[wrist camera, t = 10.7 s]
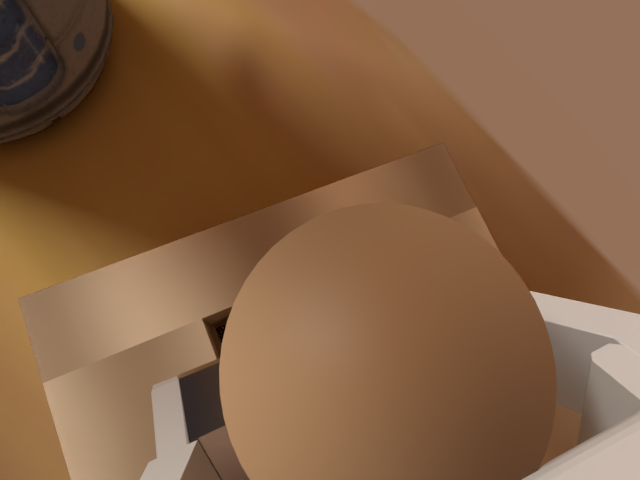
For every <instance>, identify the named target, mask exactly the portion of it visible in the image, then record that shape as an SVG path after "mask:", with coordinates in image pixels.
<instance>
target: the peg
mask: <svg viewBox="0 0 640 480" xmlns="http://www.w3.org/2000/svg"><path fill="white" fill-rule="evenodd" d="M219 383H220V398H221V404H222V410H223V417H224V421H225V424H226V428H227V431H228V434H229V438H230V441H231V444H232V446H233V448H234V451H235V453H236V455H237V457H238V460H239V462H240V464H241V466H242V468H243V469H244V471H245V473H246V474H247V476H248V477H249V479H250V480H522V479H523V478H525V477H527V476H529V475H531V474H532V473H534V472H536V471H538V469H539V467H540V465H541V462H542V460H543V458H544V456H545V453H546V450H547V447H548V443H549V440H550V436H551V433H552V429H553V423H554V416H555V410H556V391H557V382H556V370H555V361H554V356H553V351H552V346H551V341H550V338H549V334H548V331H547V328H546V325H545V322H544V319H543V317H542V315H541V313H540V310H539V308H538V306H537V304H536V301H535V299H534V298H533V296H532V294H531V293H530V291H529V289H528V288H527V286H526V284H525V283H524V281H523V280H522V278H521V277H520V276H519V274H518V273H517V272H516V271H515V269H514V268H513V267H512V265H511V264H510V263H509V262H508V261H507V260H506V259H505V258H504V257H503V256H502V255H501V254H500V253H499V252H498V251H497V250H496V249H495V248H494V247H493V246H492V245H491V244H489V243H488V242H487V241H486V240H484V239H483V238H482V237H481V236H480V235H478V234H476V233H475V232H473V231H472V230H470V229H469V228H467V227H466V226H464V225H462V224H460V223H458V222H456V221H454V220H452V219H450V218H448V217H446V216H444V215H441V214H438V213H435V212H432V211H429V210H427V209H423V208H418V207H414V206H409V205H403V204H391V203H373V204H361V205H355V206H349V207H344V208H341V209H338V210H334V211H331V212H328V213H325V214H323V215H321V216H318V217H316V218H314V219H312V220H310V221H308V222H306V223H304V224H303V225H301V226H299V227H298V228H296V229H295V230H293V231H291V232H290V233H289V234H287V235H286V236H285V237H284V238H283V239H281V240H280V241H279V242H278V243H276V244H275V245H274V246H273V247H272V248H271V249H270V250H269V251H268V252H267V253H266V254H265V256H264V257H263V258H262V259H261V260H260V261H259V262H258V263H257V265H256V266H255V268H254V269H253V270H252V272H251V273H250V275H249V276H248V277H247V279H246V280H245V282H244V284H243V286H242V288H241V290H240V292H239V294H238V295H237V297H236V299H235V301H234V304H233V307H232V309H231V312H230V315H229V318H228V320H227V324H226V328H225V332H224V336H223V341H222V345H221V355H220V365H219Z"/></svg>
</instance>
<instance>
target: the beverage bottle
mask: <svg viewBox="0 0 640 480" xmlns="http://www.w3.org/2000/svg"><path fill="white" fill-rule="evenodd" d="M112 27H113V16H112V10H111V4H110V0H0V143H4V142H10V141H14V140H17V139H20V138H23V137H26V136H29V135H32V134H35V133H37V132H39V131H41V130H43V129H45V128H47V127H49V126H51V125H53V123H52V122H51V121H53V120H55V119H56V118H58V117H59V116H60V117H61V119H62V118H63V117H64V116H66V115H67V114H68V113H70V112H71V111H72V110H73V109H75V108H76V107H77V106H78V105H79V104H80V102H81V101H82V100H83V99H84V98H85V97H86V96H87V95H88V93H89V92H90V91H91V90H92V88H93V86H94V84H95V83H96V81H97V79H98V77H99V76H100V74H101V72H102V69H103V66H104V63H105V60H106V56H107V53H108V50H109V47H110V44H111V41H112Z"/></svg>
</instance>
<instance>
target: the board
mask: <svg viewBox="0 0 640 480" xmlns="http://www.w3.org/2000/svg"><path fill="white" fill-rule="evenodd" d="M373 203H391V204H403V205H409V206H414V207H418V208H423V209H427V210H429V211H432V212H435V213H438V214H441V215H444V216H446V217H448V218H450V219H452V220H454V221H456V222H458V223H460V224H462V225H464V226H466V227H467V228H469V229H470V230H472V231H473V232H475V233H476V234H478V235H480V236H481V237H482V238H483V239H484V240H486V241H487V242H488V243H489V244H491V245H492V246H493V247H494V248H495V249H496V250H497V251H498V252H499V253H500V251H499V249H498V247H497V245H496V243H495V241H494V239H493V237H492V236H491V234H490V232H489V230H488V228H487V226H486V224H485V222H484V220H483V218H482V216H481V214H480V212H479V210H478V209H477V207H476V205H475V203H474V201H473V199H472V197H471V195H470V193H469V191H468V189H467V187H466V185H465V183H464V182H463V180H462V178H461V176H460V174H459V172H458V170H457V168H456V166H455V164H454V162H453V160H452V158H451V156H450V155H449V153H448V151H447V149H446V147H445V145H444V143H440V144H437V145H435V146H432V147H429V148H427V149H424V150H421V151H418V152H416V153H413V154H410V155H407V156H405V157H402V158H399V159H397V160H394V161H391V162H388V163H386V164H383V165H380V166H378V167H375V168H372V169H369V170H367V171H364V172H361V173H358V174H356V175H353V176H350V177H348V178H345V179H342V180H339V181H337V182H334V183H331V184H329V185H326V186H323V187H320V188H318V189H315V190H312V191H309V192H307V193H304V194H301V195H299V196H296V197H293V198H290V199H288V200H285V201H282V202H280V203H277V204H274V205H271V206H269V207H266V208H263V209H260V210H258V211H255V212H252V213H250V214H247V215H244V216H241V217H239V218H236V219H233V220H231V221H228V222H225V223H222V224H220V225H217V226H214V227H211V228H209V229H206V230H203V231H201V232H198V233H195V234H192V235H190V236H187V237H184V238H182V239H179V240H176V241H173V242H171V243H168V244H165V245H162V246H160V247H157V248H154V249H152V250H149V251H146V252H143V253H141V254H138V255H135V256H133V257H130V258H127V259H124V260H122V261H119V262H116V263H113V264H111V265H108V266H105V267H103V268H100V269H97V270H94V271H92V272H89V273H86V274H84V275H81V276H78V277H75V278H73V279H70V280H67V281H64V282H62V283H59V284H56V285H54V286H51V287H48V288H45V289H43V290H40V291H37V292H35V293H32V294H29V295H26V296H24V297H21V298H18V301H19V304H20V307H21V311H22V314H23V318H24V321H25V324H26V328H27V331H28V335H29V338H30V341H31V345H32V348H33V352H34V355H35V358H36V362H37V365H38V369H39V372H40V375H41V379H42V382H43V386H44V389H45V393H46V396H47V399H48V403H49V406H50V410H51V413H52V416H53V420H54V423H55V427H56V430H57V433H58V437H59V440H60V444H61V447H62V450H63V454H64V457H65V461H66V464H67V467H68V471H69V474H70V478H71V480H140V478H141V476H142V474H143V472H144V470H145V468H146V466H147V465H148V463H149V462H150V461H152V460H154V459H157V454H156V442H155V431H154V419H153V407H152V396H151V391H152V388H153V385H155V384H158V383H160V382H163V381H165V380H168V379H170V378H173V377H175V376H178V375H179V374H181V373H184V372H186V371H189V370H191V369H194V368H196V367H199V366H201V365H204V364H206V363H209V362H211V361H214V360H216V359H219V358H220V355H221V345H222V344H221V341H220V339H219V336H218V333H217V331H216V328H218V327H221V326H223V325H226V324H227V320H228V318H229V315H230V312H231V309H232V307H233V304H234V301H235V299H236V297H237V295H238V294H239V292H240V290H241V288H242V286H243V284H244V282H245V280H246V279H247V277H248V276H249V275H250V273H251V272H252V270H253V269H254V268H255V266H256V265H257V263H258V262H259V261H260V260H261V259H262V258H263V257H264V256H265V254H266V253H267V252H268V251H269V250H270V249H271V248H272V247H273V246H274V245H275V244H276V243H278V242H279V241H280V240H281V239H283V238H284V237H285V236H286V235H287V234H289V233H290V232H291V231H293V230H295V229H296V228H298V227H299V226H301V225H303V224H304V223H306V222H308V221H310V220H312V219H314V218H316V217H318V216H321V215H323V214H325V213H328V212H331V211H334V210H338V209H341V208H344V207H349V206H355V205H361V204H373ZM500 254H501V253H500ZM580 420H581V414H579V413H577V412H574V411H572V410H570V409H568V408H565V407H563V406H561V405H558V404H556V410H555V416H554V423H553V429H552V433H551V436H550V440H549V443H548V447H547V450H546V453H545V456H544V458H543V460H542V462H541V465H543V464H545V463H547V462H548V461H550V460H552V459H554V458H556V457H557V456H559V455H561V454H563V453H565V452H566V451H568V450H570V449H572V448H574V447H575V446H577V442H578V432H579V426H580ZM541 465H540V466H541Z"/></svg>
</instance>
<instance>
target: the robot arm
mask: <svg viewBox="0 0 640 480" xmlns="http://www.w3.org/2000/svg"><path fill="white" fill-rule="evenodd" d="M530 293H531V294H532V296H533V298H534V299H535V301H536V304H537V306H538V308H539V310H540V313H541V315H542V317H543V319H544V322H545V325H546V328H547V331H548V334H549V338H550V341H551V346H552V351H553V356H554V361H555V370H556V382H557V391H556V404H558V405H561V406H563V407H565V408H568V409H570V410H572V411H574V412H577V413H579V414H581V420H580V426H579V432H578V442H577V446H575V447H574V448H572V449H570V450H568V451H566V452H565V453H563V454H561V455H559V456H557V457H556V458H554V459H552V460H550V461H548V462H547V463H545V464H543V465H541V466H540V467H539V469H538V471H536V472H534V473H532V474H531V475H529V476H527V477H525V478H523V479H522V480H640V314H636V313H631V312H626V311H622V310H617V309H612V308H608V307H603V306H598V305H594V304H589V303H584V302H580V301H575V300H570V299H565V298H561V297H556V296H551V295H547V294H542V293H537V292H533V291H530ZM219 365H220V358H219V359H216V360H214V361H211V362H209V363H206V364H204V365H201V366H199V367H196V368H194V369H191V370H189V371H186V372H184V373H181V374H179V375H178V376H175V377H173V378H170V379H168V380H165V381H163V382H160V383H158V384H155V385H153V388H152V391H151V396H152V407H153V419H154V431H155V442H156V454H157V459H154V460H152V461H150V462H149V463H148V465H147V466H146V468H145V470H144V472H143V474H142V476H141V478H140V480H250V479H249V477H248V476H247V474H246V473H245V471H244V469H243V468H242V466H241V464H240V462H239V460H238V457H237V455H236V453H235V451H234V448H233V446H232V444H231V441H230V438H229V434H228V431H227V428H226V424H225V421H224V417H223V410H222V404H221V398H220V383H219Z"/></svg>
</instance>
